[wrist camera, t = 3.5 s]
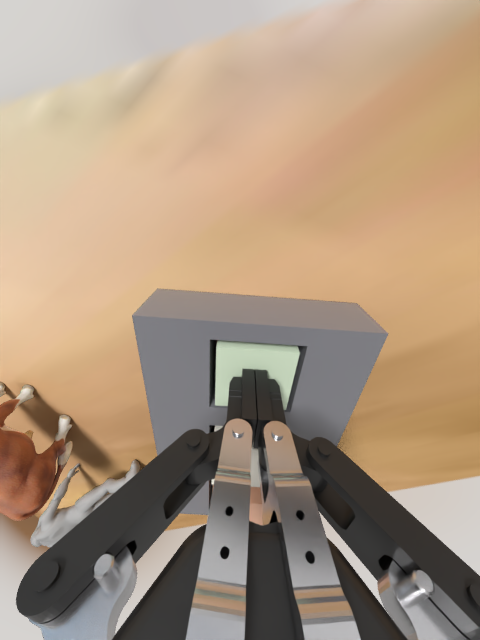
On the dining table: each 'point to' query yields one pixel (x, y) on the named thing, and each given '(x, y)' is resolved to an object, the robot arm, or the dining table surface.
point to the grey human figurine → (74, 508)
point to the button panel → (259, 327)
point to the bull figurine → (28, 463)
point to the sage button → (254, 365)
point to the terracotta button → (255, 505)
